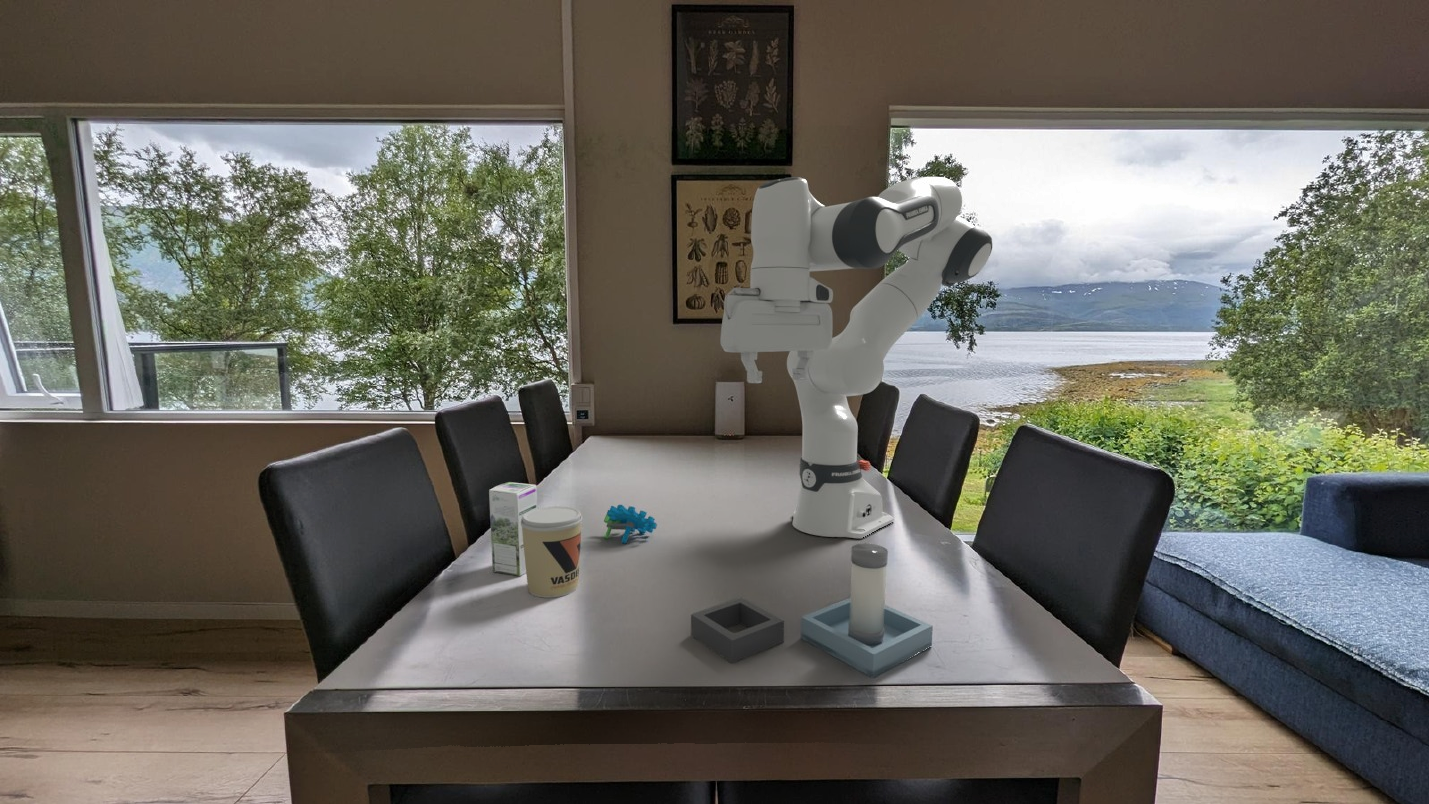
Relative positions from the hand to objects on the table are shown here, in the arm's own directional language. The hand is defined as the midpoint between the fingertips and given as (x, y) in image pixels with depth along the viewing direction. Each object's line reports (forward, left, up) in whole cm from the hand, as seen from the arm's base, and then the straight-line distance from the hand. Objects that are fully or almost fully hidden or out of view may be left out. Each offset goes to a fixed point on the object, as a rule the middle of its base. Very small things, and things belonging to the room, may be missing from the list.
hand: (777, 381), depth 96 cm
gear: (+6, -34, -33) cm, 48 cm away
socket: (+15, +9, -33) cm, 37 cm away
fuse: (+2, +20, -32) cm, 38 cm away
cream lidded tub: (+28, -21, -33) cm, 48 cm away
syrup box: (+30, -32, -33) cm, 55 cm away
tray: (+2, +20, -33) cm, 39 cm away
